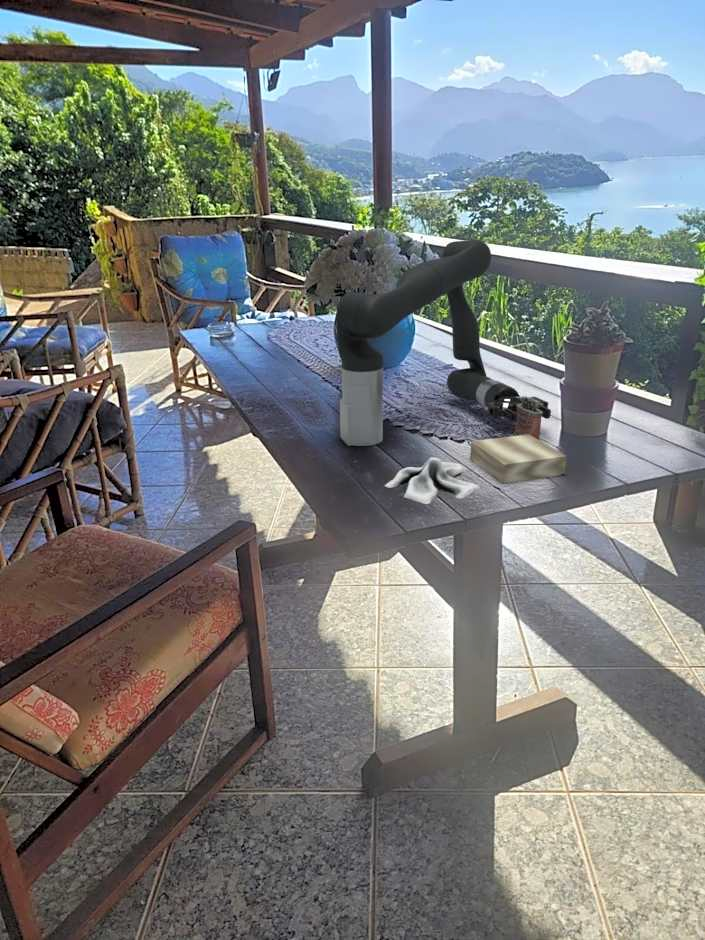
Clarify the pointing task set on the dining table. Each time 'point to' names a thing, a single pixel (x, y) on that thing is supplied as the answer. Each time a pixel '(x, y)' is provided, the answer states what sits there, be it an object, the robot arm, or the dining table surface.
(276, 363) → the dining table surface
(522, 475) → the base block
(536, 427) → the lighter
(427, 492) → the cloth
